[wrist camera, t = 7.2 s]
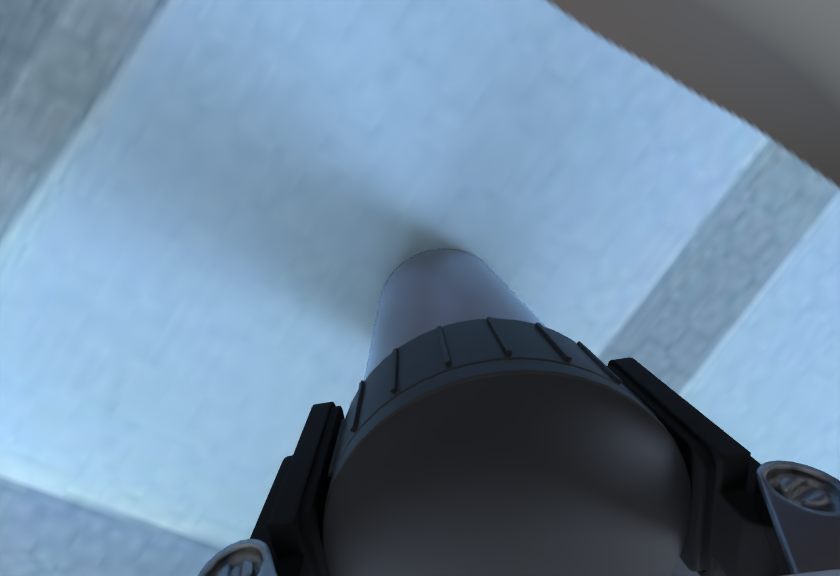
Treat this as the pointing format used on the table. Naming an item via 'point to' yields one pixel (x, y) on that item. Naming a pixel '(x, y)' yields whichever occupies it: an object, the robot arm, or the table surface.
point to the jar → (439, 299)
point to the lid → (502, 464)
